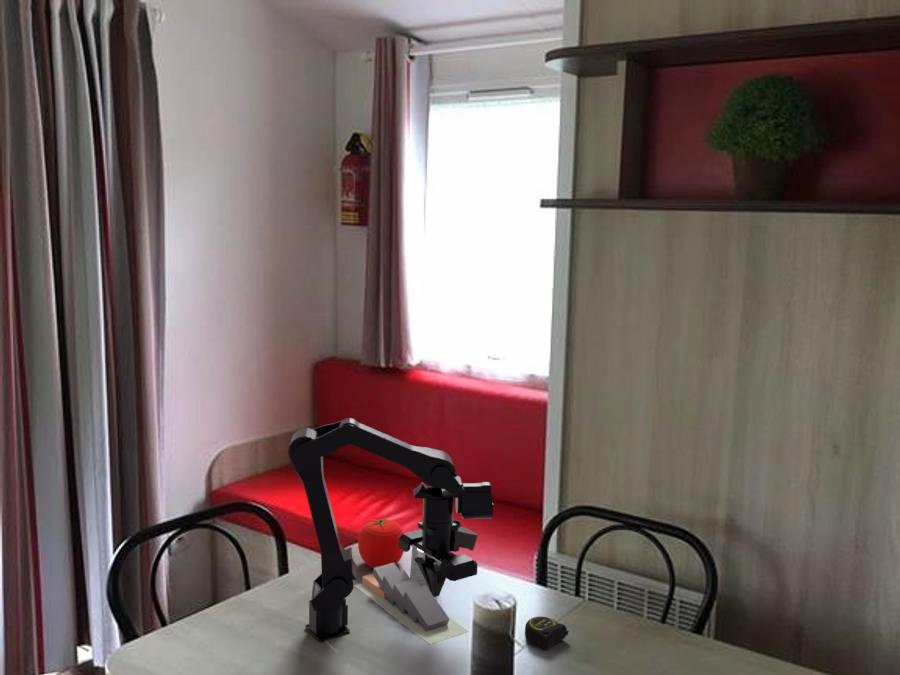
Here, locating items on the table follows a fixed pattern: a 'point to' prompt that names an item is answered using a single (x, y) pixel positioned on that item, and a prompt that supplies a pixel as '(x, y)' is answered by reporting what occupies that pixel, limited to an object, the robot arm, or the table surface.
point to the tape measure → (544, 631)
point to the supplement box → (416, 568)
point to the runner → (428, 636)
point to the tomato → (380, 542)
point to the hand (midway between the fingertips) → (435, 595)
